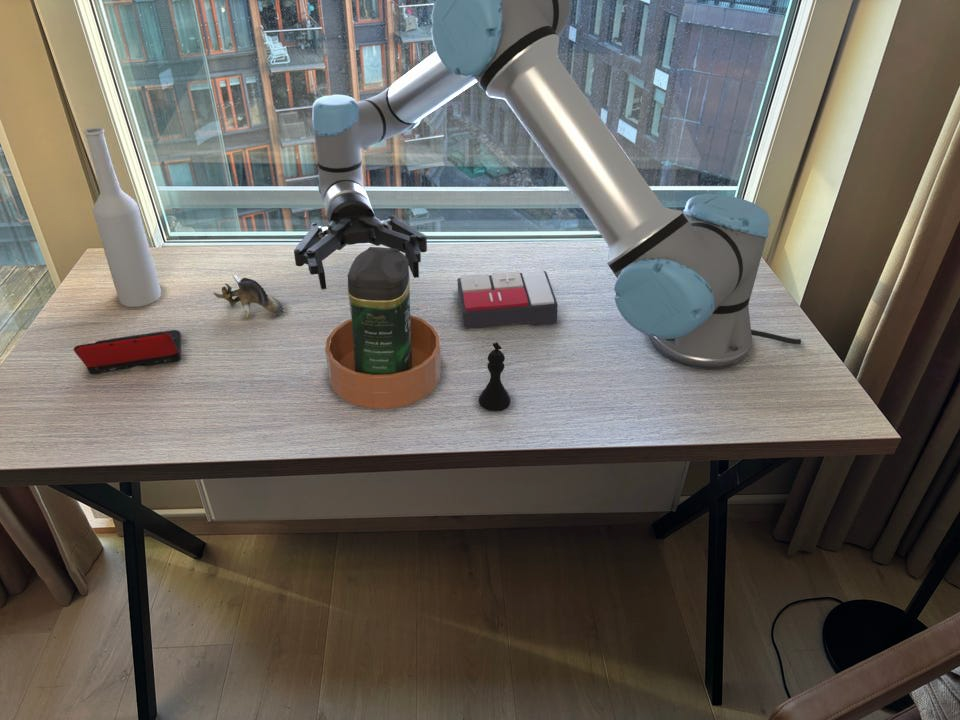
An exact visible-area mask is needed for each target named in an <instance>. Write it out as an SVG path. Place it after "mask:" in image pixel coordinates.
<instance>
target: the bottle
mask: <svg viewBox="0 0 960 720" xmlns="http://www.w3.org/2000/svg"><path fill="white" fill-rule="evenodd" d="M83 134H84V135H85V138H86V141H87V142H86V143H87V145H88V149H89V152H90V156H91V159H92V163H93V167H94V170H95V174H96V180H97V184H98V189H99V195H98V197H97V199H96V201H95V203H94V205H93V209H92V214H93V216H94V221H95V223H96V227H97V231H98V234H99V237H100V241H101V245H102V247H103V251H104V255H105V258H106V261H107V265H108V268H109V272H110V276H111V278H112V281H113V285H114V288H115V292H116V295H117V298H118V301H119V303H120V304H121V305H123V306H124V307H125V306H126V307H131V308H136V307H137V308H138V307H139V308H140V307H143V306H148V305H150V304H153V303H155V302H156V301H158V300H159V299H160V298H161V296H162V290H161V285H160V282H159V278H158V274H157V270H156V266H155V262H154V260H153V256H152V251H151V247H150V245H149V241H148V237H147V234H146V231H145V226H144V223H143V219H142V216H141V212H140V208H139V205H138V203H137V201H136V200H135V199H134V198H133V197H131V196H130V195H129V194H127V193H126V192H124V191H123V190H122V188H121V186H120V182H119V180H118V177H117V174H116V172H115V169H114V165H113V162H112V158H111V155H110V152H109V151H110V150H109V148H108V144H107V140H106V137H105V128H103V127H102V126H101V127H100V126H91V127H88V128H86V129H83Z"/></svg>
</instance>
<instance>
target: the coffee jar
mask: <svg viewBox="0 0 960 720" xmlns="http://www.w3.org/2000/svg"><path fill="white" fill-rule="evenodd" d="M346 277H347V292H348V293H347V294H348V299H349V307H350V319H352V333H353V346H354V364H355V372H359V373H365V374H371V375H385V374H394V373H399V372H403V371H408V370H410V369H411V366H412V348H411V321H410V315H411V290H410V289H411V287H410V280H411V279H410V267H409V262H408V259H407V258H406V256H405V253H403V252H401V251H399V250H398V249H394V248H389V247H380V246H369V247H368V248H367V249H365V250H364V251H362V252H360V253H359V254H358V255H356V257H355V258H354V260H353V261H352V263H351V265H350V268H349V269H348V273H347V275H346Z"/></svg>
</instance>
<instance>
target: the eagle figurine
mask: <svg viewBox="0 0 960 720" xmlns="http://www.w3.org/2000/svg"><path fill="white" fill-rule="evenodd" d="M232 277H233V278H234V280H235V282H236V284H237V285H238V288H237V289H234V290H232V288H233V287H232V286H230V285H229V284H228V283H226V282H225V283H224V285H225V286H222V287H221V293H222V294H221V293H217V292H213V295H214V296H215V298H218V299H224V300H226V301H227V302H228V303H229V304H230V307H235V305H236V303H239V302H240V304H241V306H242V308H243V310H244V311H243V312H244V313H245V318H246V319H248V318H249V316H250V314H251V304H258V305H259V306H261V307H263V308H264V309H265V310H266V311H267V312H268V313H269V314H271V316H273V317H274V316H280V315H283V314H284V313H285V309H284V306H283V305H282V303H281V301H279V300H278V299H277V298H276V297H274V296H272V295H270V294H268V293H267V292H266V290H264V287H262V285H261V284H260V283H259V282H258V281H256V280H255V279H252V278H249V277H242V278H239V277H238V276H237V275H236V274H232ZM233 297H235V298H233Z"/></svg>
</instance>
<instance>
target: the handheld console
mask: <svg viewBox="0 0 960 720" xmlns="http://www.w3.org/2000/svg"><path fill="white" fill-rule="evenodd" d="M73 352H74V353H75V354H76V355H77V356H78V358H79V359H80V360H81V362H82V363H83V364H84V365H85V367H86V369H87V371H88V373H89V374H90V375H99V374H103V373H109V372H115V371H123V370H128V369H132V368H135V367H149V366H154V365H163V364H168V363H175V362H179V361H180V360H181V359H182V356H181V355H182V353H181V352H182V334H181V332H180V331H179V330H178V329H171V330H170V329H169V330H164V331H155V332H149V333H141V334H134V335H128V336H127V335H126V336H122V337H114V338H109V339H102V340H101V339H100V340H97V341H95V342H92V343H84V344H79V345H76V346H74V347H73Z"/></svg>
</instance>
